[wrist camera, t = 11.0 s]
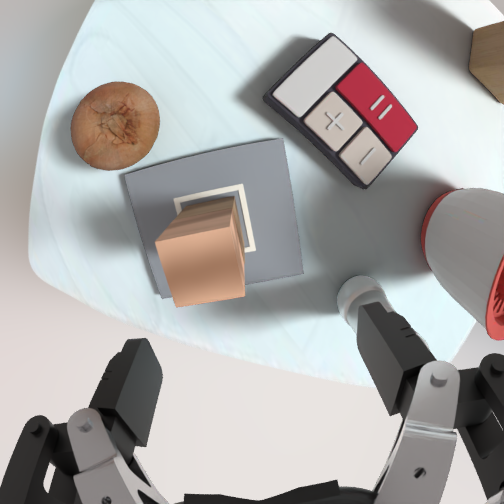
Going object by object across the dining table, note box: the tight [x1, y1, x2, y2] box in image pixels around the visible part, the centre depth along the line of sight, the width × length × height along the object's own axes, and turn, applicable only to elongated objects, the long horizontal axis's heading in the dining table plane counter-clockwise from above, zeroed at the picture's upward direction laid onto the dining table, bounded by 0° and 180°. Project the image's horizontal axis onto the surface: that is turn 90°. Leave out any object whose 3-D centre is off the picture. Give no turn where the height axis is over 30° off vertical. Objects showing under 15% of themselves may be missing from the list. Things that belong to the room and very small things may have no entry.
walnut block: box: [174, 196, 245, 264], centre depth 29 cm, size 6×6×6 cm
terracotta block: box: [155, 208, 245, 307], centre depth 23 cm, size 6×6×6 cm
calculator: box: [263, 33, 418, 189], centre depth 27 cm, size 11×4×15 cm
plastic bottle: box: [337, 275, 429, 349], centre depth 28 cm, size 6×7×20 cm
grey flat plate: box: [124, 138, 304, 299], centre depth 32 cm, size 16×18×1 cm
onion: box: [71, 82, 160, 171], centre depth 24 cm, size 10×9×10 cm
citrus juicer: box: [421, 188, 504, 340], centre depth 25 cm, size 16×17×20 cm
